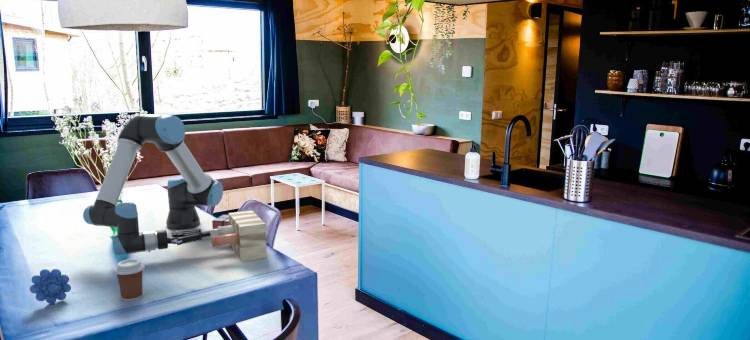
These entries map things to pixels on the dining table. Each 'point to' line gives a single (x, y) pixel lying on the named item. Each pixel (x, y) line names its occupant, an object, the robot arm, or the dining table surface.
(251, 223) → the socket block
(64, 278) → the blue lumpy lobed piece
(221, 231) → the white plug
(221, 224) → the puzzle cube
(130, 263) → the coffee cup
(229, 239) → the terracotta plug
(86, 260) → the dining table surface
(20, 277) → the dining table surface
